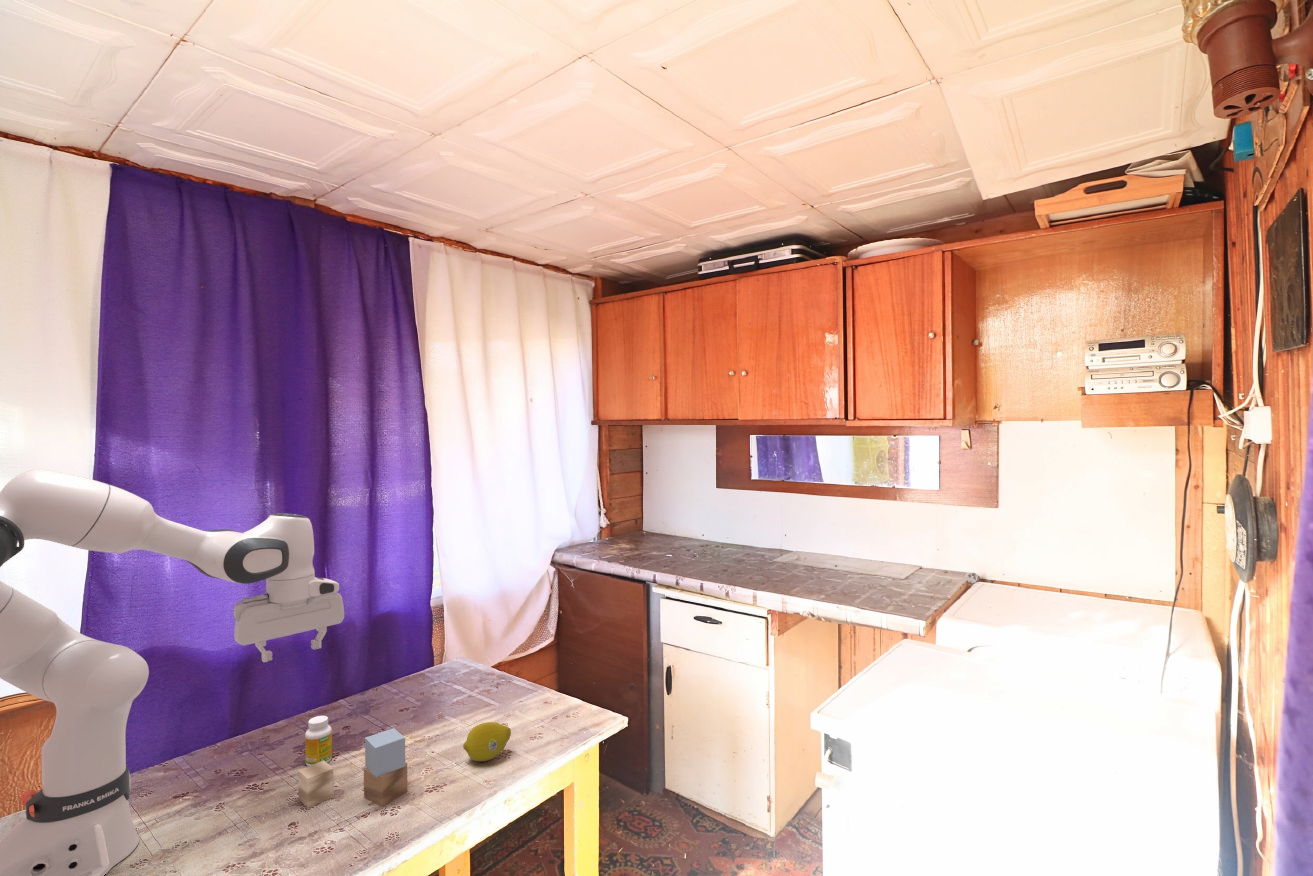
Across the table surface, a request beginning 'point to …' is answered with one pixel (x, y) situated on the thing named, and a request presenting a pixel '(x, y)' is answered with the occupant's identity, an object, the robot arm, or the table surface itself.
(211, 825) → the table surface
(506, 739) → the lemon
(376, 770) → the top block
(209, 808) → the table surface
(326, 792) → the maple block
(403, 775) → the bottom block
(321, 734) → the supplement bottle
